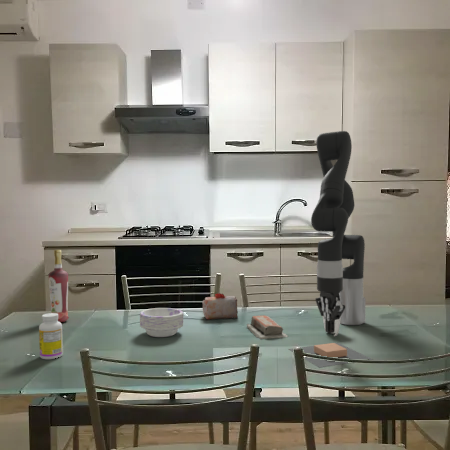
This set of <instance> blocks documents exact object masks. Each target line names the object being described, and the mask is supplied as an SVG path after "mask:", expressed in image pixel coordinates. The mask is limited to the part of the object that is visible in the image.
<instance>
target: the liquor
mask: <svg viewBox="0 0 450 450" xmlns="http://www.w3.org/2000/svg"><path fill="white" fill-rule="evenodd" d="M53 253H54V254H53V255H54V265H53V266H54V267H53V268H54V270H52V271H50V272H49V273H48V286H49V287H48V288H49V297H50V298H49V299H50V313H57V314H58V322H60V323H61V322H64V323H65V321H66V322H67V321H68V320H69V318H70V317H69V315H68V313H69V312H68V311H69V310H68V297H69V273H68V271H66V270H64V269H63V265H62V249H54V250H53ZM61 324H62V323H61Z"/></svg>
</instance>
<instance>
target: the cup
mask: <svg viewBox="0 0 450 450" xmlns="http://www.w3.org/2000/svg"><path fill="white" fill-rule="evenodd" d="M340 320H341V317H340V318H339V319H337V320H335V326H334V327H335V330H334V333H333V337H337V336H338V335H339V332H340V325H341V323H340ZM322 321H323V328H324V329H325V319H324V316H322ZM324 331H325V330H324ZM325 332H326V331H325ZM326 333H327V332H326Z"/></svg>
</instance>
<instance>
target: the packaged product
mask: <svg viewBox="0 0 450 450" xmlns="http://www.w3.org/2000/svg"><path fill="white" fill-rule="evenodd" d="M250 320H251V321H250V323H247V324H246V328H247V329H248V330H249V331H250V332H251V333H252V334H253V335H254V336H255V337H256V338H257V339H260V340H264V339H265V340H268V339H280V338H288V337H289V335H287V334H286V333H284V332H283V330H284V329H283V327H282V326H281V325H280V324H278V323H277V322H276V321H275V320H273V318H271V317H270V316H268V315H253V316H251V319H250Z"/></svg>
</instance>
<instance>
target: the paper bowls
mask: <svg viewBox="0 0 450 450" xmlns="http://www.w3.org/2000/svg"><path fill="white" fill-rule="evenodd" d="M139 327H140V328H142V329H143V330H145V333H146V334H147V335H148V336H149V337H153V338H167V337H172V336H174V335H175V334H177V333H178V330H179V329H181V328H183V327H184V311H183V310H181V309H177V308H171V307H155V308H148V309H144V310H141V311H140V312H139Z"/></svg>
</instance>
